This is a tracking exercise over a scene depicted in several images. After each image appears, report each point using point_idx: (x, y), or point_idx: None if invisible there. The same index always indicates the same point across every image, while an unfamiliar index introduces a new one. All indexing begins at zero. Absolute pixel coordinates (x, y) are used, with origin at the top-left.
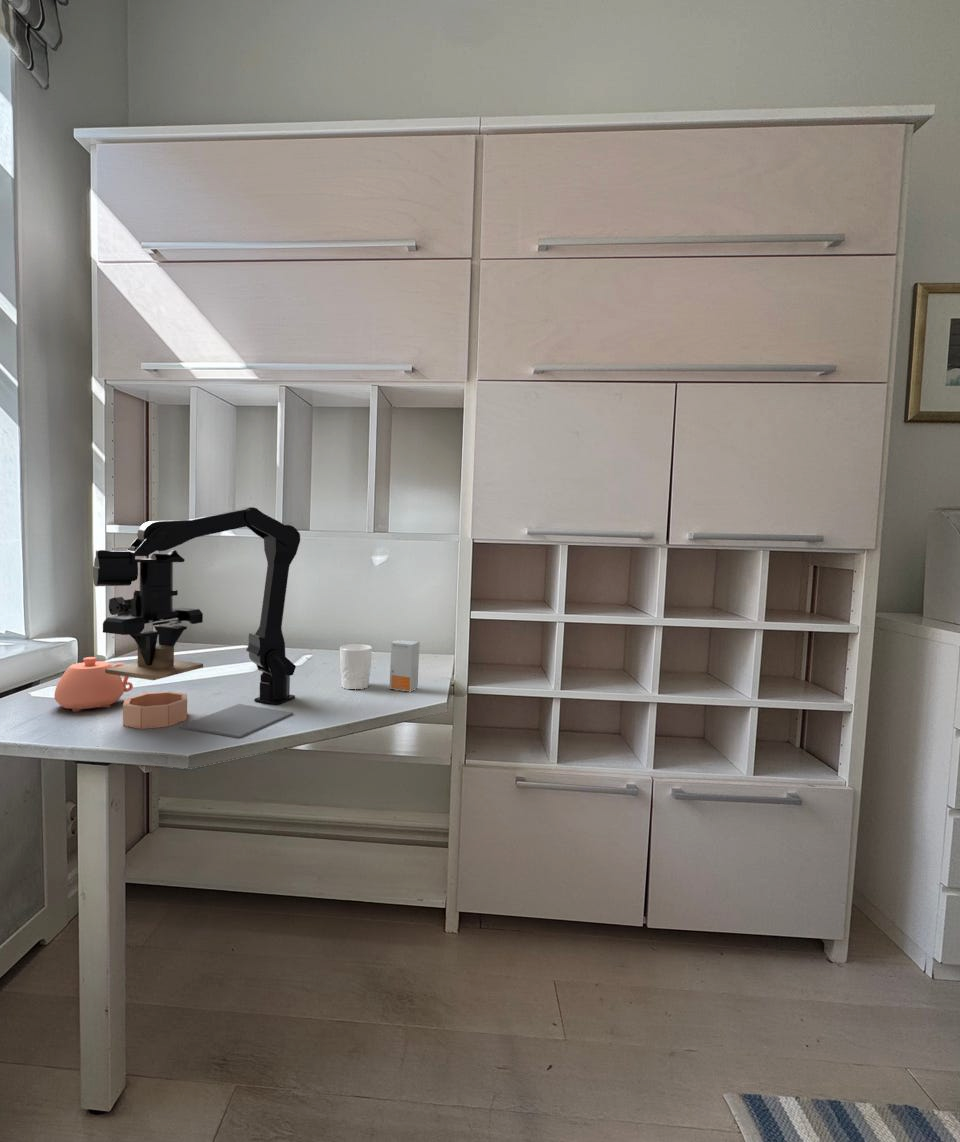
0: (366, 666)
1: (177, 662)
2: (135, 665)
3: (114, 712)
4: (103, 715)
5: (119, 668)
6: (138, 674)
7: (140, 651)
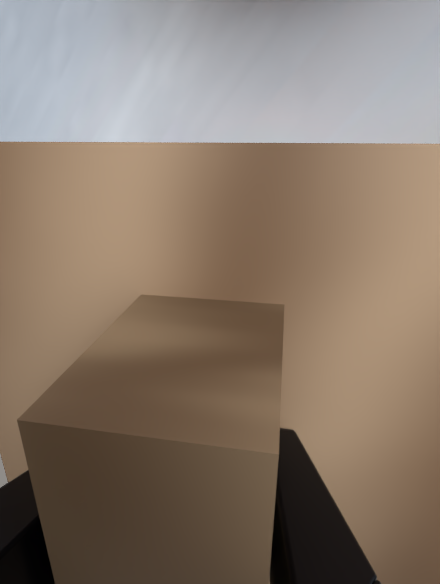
0: None
1: (403, 475)
2: (148, 259)
3: (260, 13)
4: (203, 10)
5: (3, 233)
6: (4, 457)
7: (1, 488)
